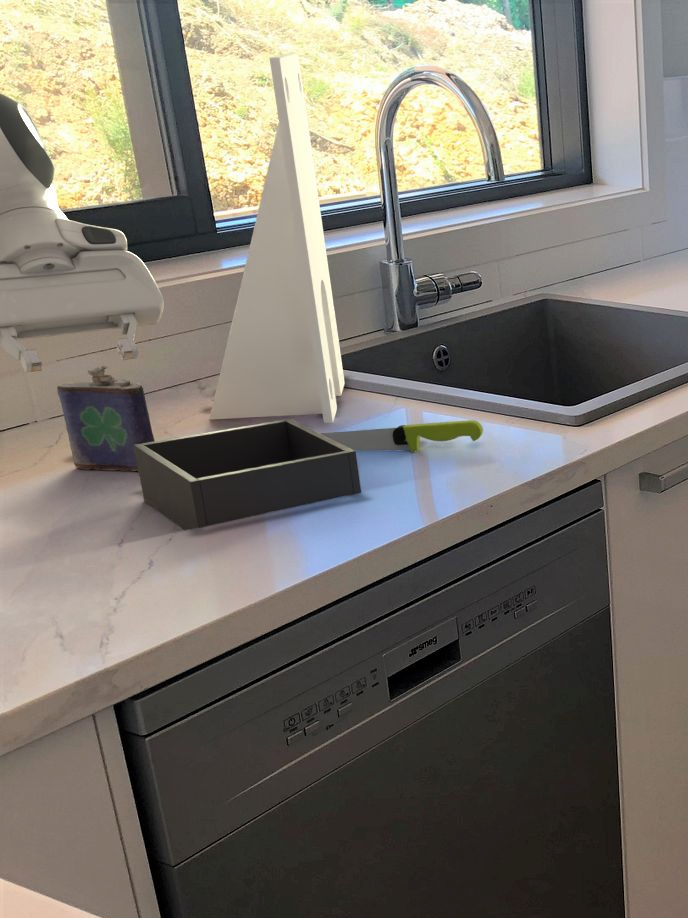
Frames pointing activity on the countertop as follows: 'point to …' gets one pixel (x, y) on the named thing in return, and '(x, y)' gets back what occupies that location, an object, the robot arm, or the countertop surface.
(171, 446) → the open dark grey box
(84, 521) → the countertop surface
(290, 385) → the white bracket plate
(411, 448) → the kitchen knife
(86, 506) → the countertop surface
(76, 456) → the flask
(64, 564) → the countertop surface
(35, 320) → the robot arm
